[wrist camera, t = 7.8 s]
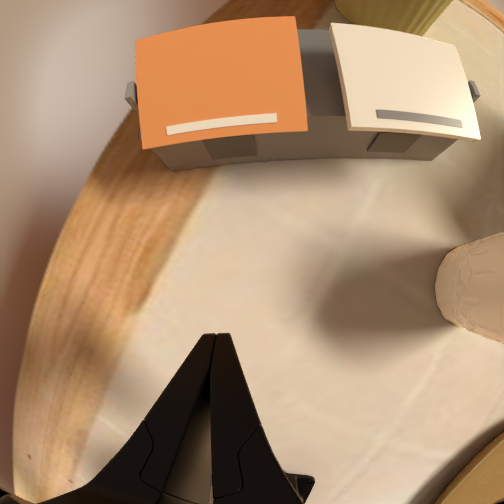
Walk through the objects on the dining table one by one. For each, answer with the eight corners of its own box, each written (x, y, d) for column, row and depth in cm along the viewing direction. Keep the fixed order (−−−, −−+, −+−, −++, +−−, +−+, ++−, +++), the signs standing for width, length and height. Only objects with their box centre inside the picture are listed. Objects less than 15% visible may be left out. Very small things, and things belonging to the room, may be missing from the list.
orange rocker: (305, 131, 15) (308, 130, 14) (148, 148, 16) (142, 149, 15) (293, 21, 12) (295, 15, 12) (140, 44, 13) (134, 40, 12)
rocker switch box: (471, 166, 20) (529, 129, 11) (172, 173, 22) (119, 121, 13) (447, 93, 21) (488, 45, 12) (176, 93, 23) (140, 28, 14)
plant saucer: (389, 559, 16) (394, 573, 13) (443, 439, 18) (458, 454, 15) (511, 503, 14) (519, 511, 11) (562, 380, 16) (576, 385, 13)
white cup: (495, 316, 19) (571, 327, 9) (433, 343, 19) (511, 375, 9) (485, 232, 20) (562, 212, 10) (420, 249, 20) (503, 230, 10)
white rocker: (473, 141, 13) (481, 139, 12) (347, 130, 14) (351, 126, 13) (450, 50, 12) (455, 45, 11) (328, 29, 13) (331, 22, 12)
